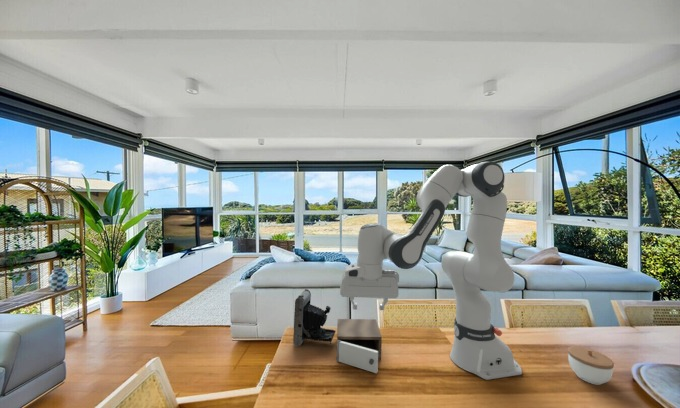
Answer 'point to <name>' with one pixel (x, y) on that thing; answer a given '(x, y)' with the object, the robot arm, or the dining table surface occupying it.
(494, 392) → the dining table surface
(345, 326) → the case
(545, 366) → the dining table surface
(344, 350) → the door
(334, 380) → the dining table surface
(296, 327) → the vintage camera
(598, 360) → the lidded jar
